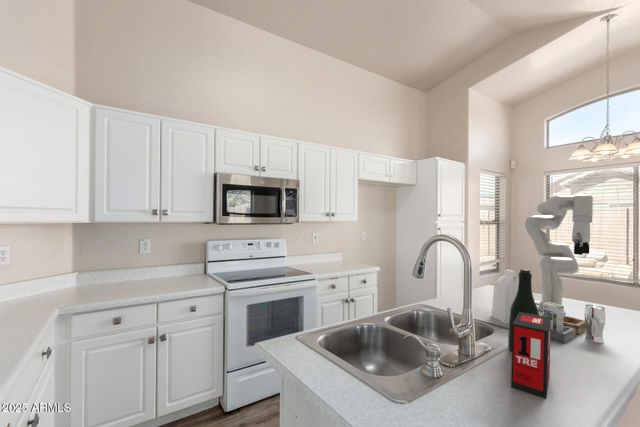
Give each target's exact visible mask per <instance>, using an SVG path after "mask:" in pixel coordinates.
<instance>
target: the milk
mask: <svg viewBox="0 0 640 427" xmlns="http://www.w3.org/2000/svg"><path fill="white" fill-rule="evenodd" d="M518 283H519V277H518V278H517V275H516V271H515V270H512V269H505V270H504V274H502V275H501V276H500V277H499V278H498V279H496V280H495V281H494V283H493V284H494V285H493V297H492V298H493V299H492V309H491V311H492V313H491V316H492V317H493V318H495V319H496V320H498V321H499V322H502V323H503V324H504V325H509V315H510V308H511V305H512V303H513V301H514V299H515V297H516V294H517V291H518Z"/></svg>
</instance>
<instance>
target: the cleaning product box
mask: <svg viewBox="0 0 640 427" xmlns="http://www.w3.org/2000/svg"><path fill="white" fill-rule="evenodd" d="M550 327H551V317H545V316H543V315H540V314H539V315H535V314H529V313H524V312H519V313H518V315H517V317H516V318H515V320H514V322H513V324H512V352H511V367H510V368H511V370H510V371H511V373H510V374H511V375H510V377H511V378H510V388H511V389H514V390H516V391H520V392H523V393H526V394H528V395H532V396H536V397H538V398H541V399H544V400H546V399H548V398H547V397H548V391H549V384H550V382H549V381H550V375H551V374H550V371H551V369H550V367H551V366H550V365H551V340H550Z"/></svg>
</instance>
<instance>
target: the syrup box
mask: <svg viewBox="0 0 640 427" xmlns="http://www.w3.org/2000/svg"><path fill="white" fill-rule="evenodd" d="M564 311H565V306H564V305H563V304H562V305H559V304H555V303H552V302H546V303H543V312H542V316H545V317H551V327H550V330H554V331H557V332H561V333H562V332H563V318H564V316H565V314H564Z"/></svg>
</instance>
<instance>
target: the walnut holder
mask: <svg viewBox="0 0 640 427" xmlns="http://www.w3.org/2000/svg"><path fill="white" fill-rule="evenodd" d="M563 326H567V327H570V328H574V329H575V336H577V337H578V336H581V335H582V334H584V333H587V328H586V323H585V319H581V318H577V317H571V316H567V315H564V318H563Z"/></svg>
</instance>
